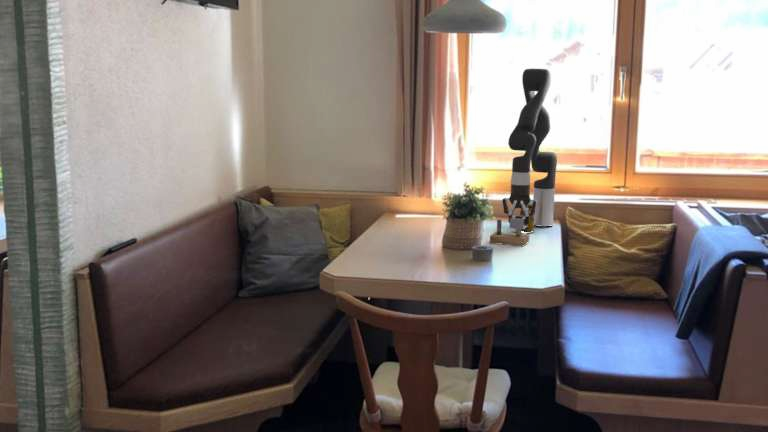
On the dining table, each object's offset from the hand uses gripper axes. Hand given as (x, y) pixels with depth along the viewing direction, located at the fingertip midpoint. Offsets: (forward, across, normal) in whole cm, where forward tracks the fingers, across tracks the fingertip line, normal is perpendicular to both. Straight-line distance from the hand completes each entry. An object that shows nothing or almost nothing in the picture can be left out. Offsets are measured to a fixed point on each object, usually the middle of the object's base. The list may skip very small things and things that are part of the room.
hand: (518, 224), depth 322 cm
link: (+1, 0, 0) cm, 1 cm away
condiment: (+8, +2, -24) cm, 25 cm away
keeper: (+8, +4, 0) cm, 8 cm away
